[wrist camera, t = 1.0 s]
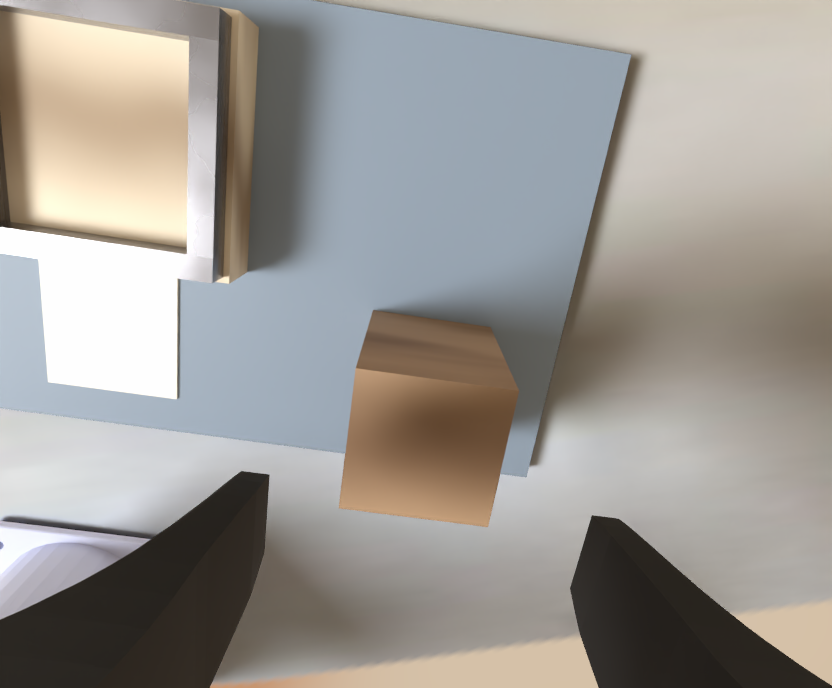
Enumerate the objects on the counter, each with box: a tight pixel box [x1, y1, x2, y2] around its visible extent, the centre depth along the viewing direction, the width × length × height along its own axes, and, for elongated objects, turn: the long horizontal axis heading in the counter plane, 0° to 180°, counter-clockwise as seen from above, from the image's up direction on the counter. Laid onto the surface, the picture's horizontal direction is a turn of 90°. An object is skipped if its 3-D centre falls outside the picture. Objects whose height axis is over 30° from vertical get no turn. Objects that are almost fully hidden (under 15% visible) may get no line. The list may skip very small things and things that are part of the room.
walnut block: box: [339, 310, 519, 527], centre depth 18 cm, size 4×4×6 cm
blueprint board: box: [0, 0, 631, 477], centre depth 18 cm, size 16×22×4 cm
